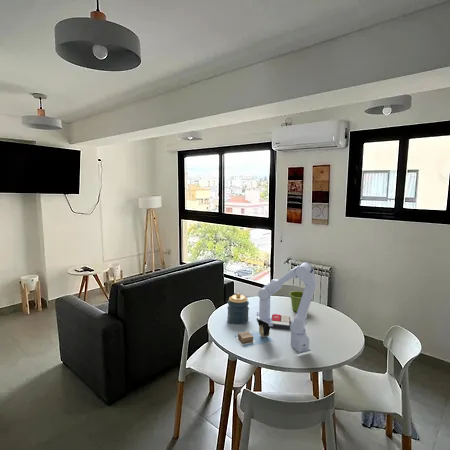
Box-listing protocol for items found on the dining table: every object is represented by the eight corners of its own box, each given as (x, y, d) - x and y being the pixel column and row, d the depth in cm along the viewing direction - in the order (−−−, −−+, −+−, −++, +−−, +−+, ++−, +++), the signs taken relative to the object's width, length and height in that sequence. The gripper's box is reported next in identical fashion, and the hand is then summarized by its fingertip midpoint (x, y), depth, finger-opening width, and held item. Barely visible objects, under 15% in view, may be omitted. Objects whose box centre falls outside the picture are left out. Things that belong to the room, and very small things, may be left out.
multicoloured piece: (290, 315, 185) (290, 324, 170) (289, 321, 185) (289, 332, 171) (272, 313, 187) (270, 322, 173) (272, 319, 188) (270, 330, 173)
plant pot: (285, 308, 203) (285, 292, 201) (299, 305, 208) (299, 290, 206) (296, 315, 192) (297, 298, 191) (310, 312, 197) (311, 295, 196)
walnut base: (253, 341, 157) (253, 336, 157) (242, 343, 155) (242, 338, 155) (248, 336, 163) (248, 331, 162) (238, 338, 161) (238, 332, 160)
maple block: (269, 336, 162) (269, 327, 161) (262, 337, 160) (262, 328, 160) (265, 332, 165) (265, 324, 165) (259, 333, 164) (259, 325, 163)
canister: (225, 324, 179) (225, 296, 176) (229, 315, 191) (230, 288, 189) (246, 327, 176) (247, 298, 173) (250, 317, 188) (250, 290, 186)
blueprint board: (274, 342, 159) (274, 340, 158) (243, 348, 152) (243, 346, 152) (263, 332, 170) (263, 330, 170) (234, 337, 163) (234, 335, 163)
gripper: (252, 305, 166) (251, 328, 168) (264, 315, 153) (263, 340, 154) (263, 303, 169) (262, 326, 170) (276, 313, 155) (275, 338, 157)
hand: (264, 333), depth 163 cm, fingers closed on maple block, 4 cm apart
